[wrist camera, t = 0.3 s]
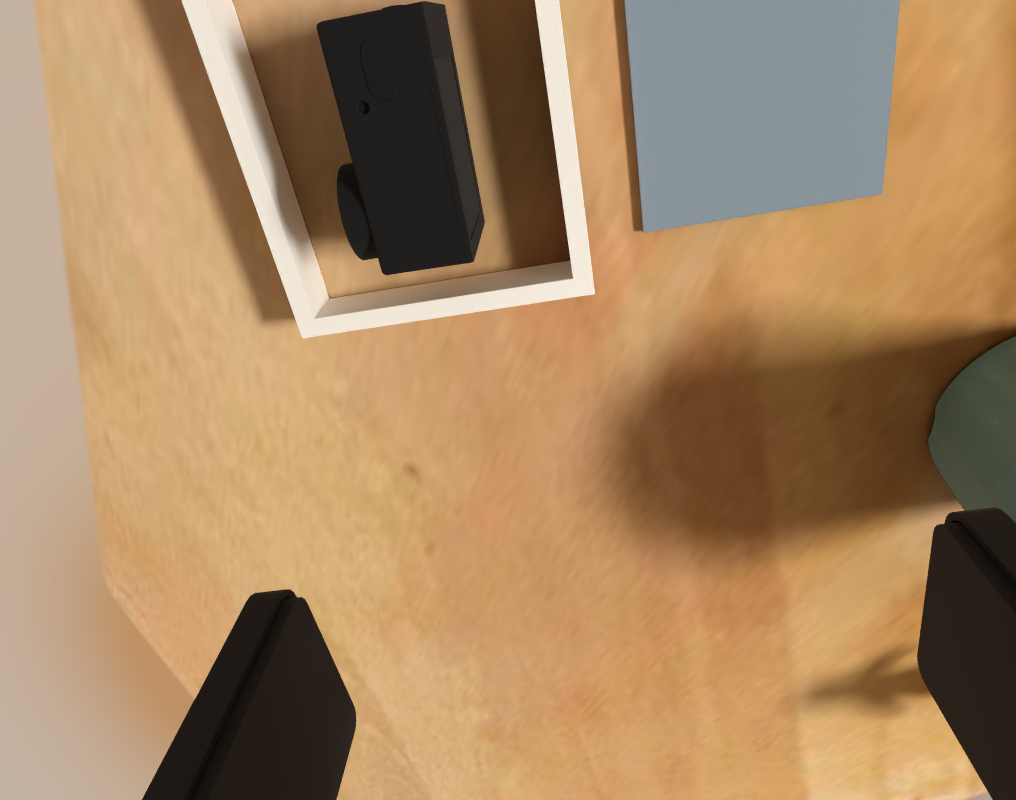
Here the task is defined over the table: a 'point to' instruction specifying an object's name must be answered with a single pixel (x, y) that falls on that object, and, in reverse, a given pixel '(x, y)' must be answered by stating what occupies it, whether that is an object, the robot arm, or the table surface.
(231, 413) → the table surface
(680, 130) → the rubber mat
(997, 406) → the flower pot
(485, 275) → the open frame
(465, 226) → the digital camera
